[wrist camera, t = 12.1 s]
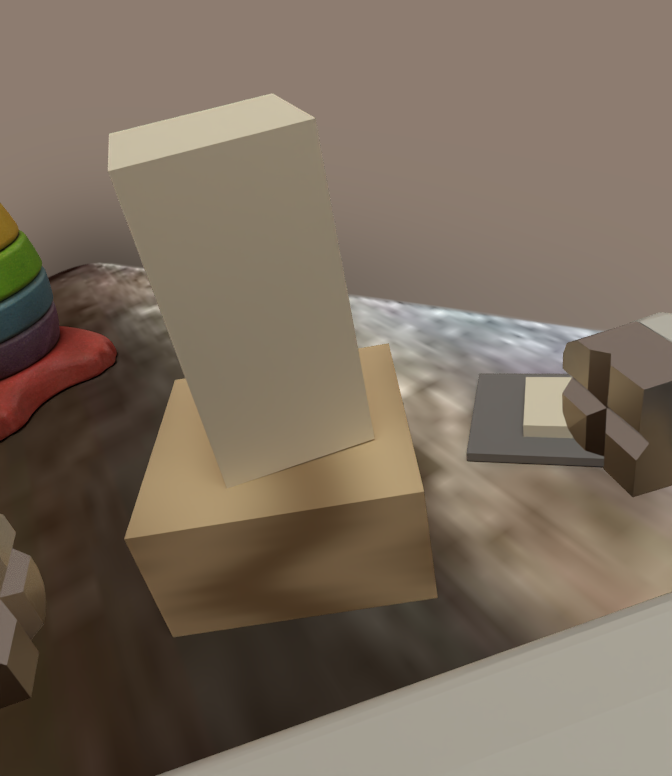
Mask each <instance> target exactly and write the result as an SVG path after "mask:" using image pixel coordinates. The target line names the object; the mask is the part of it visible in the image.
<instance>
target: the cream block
mask: <svg viewBox="0 0 672 776" xmlns="http://www.w3.org/2000/svg"><path fill="white" fill-rule="evenodd" d="M108 173H109V175H110V178H111V181H112V184H113V186H114V189H115V192H116V194H117V197H118V200H119V202H120V205H121V208H122V210H123V213H124V216H125V218H126V221H127V224H128V226H129V229H130V232H131V234H132V237H133V240H134V242H135V245H136V248H137V250H138V253H139V256H140V258H141V261H142V264H143V266H144V269H145V272H146V274H147V277H148V280H149V282H150V285H151V288H152V290H153V293H154V296H155V298H156V301H157V304H158V306H159V309H160V312H161V314H162V317H163V320H164V322H165V325H166V328H167V330H168V333H169V336H170V338H171V341H172V344H173V346H174V349H175V352H176V354H177V357H178V360H179V362H180V365H181V368H182V370H183V373H184V376H185V378H186V381H187V384H188V386H189V389H190V392H191V394H192V397H193V400H194V402H195V405H196V408H197V410H198V413H199V416H200V418H201V421H202V424H203V426H204V429H205V431H206V434H207V437H208V439H209V442H210V445H211V447H212V450H213V453H214V455H215V458H216V461H217V463H218V466H219V469H220V471H221V474H222V477H223V479H224V482H225V485H226V487H227V488H230V487H233V486H236V485H239V484H242V483H245V482H248V481H251V480H254V479H257V478H260V477H263V476H266V475H269V474H272V473H275V472H278V471H281V470H284V469H287V468H290V467H293V466H296V465H298V464H301V463H304V462H307V461H310V460H313V459H316V458H319V457H322V456H325V455H328V454H331V453H334V452H337V451H340V450H343V449H346V448H349V447H352V446H355V445H358V444H361V443H364V442H367V441H370V440H372V439H375V438H374V432H373V427H372V422H371V416H370V411H369V405H368V400H367V395H366V389H365V384H364V378H363V373H362V367H361V362H360V357H359V351H358V346H357V340H356V335H355V330H354V324H353V319H352V313H351V308H350V303H349V297H348V292H347V287H346V281H345V276H344V270H343V265H342V259H341V255H340V249H339V243H338V238H337V233H336V227H335V222H334V216H333V211H332V206H331V200H330V195H329V189H328V184H327V178H326V173H325V168H324V162H323V157H322V151H321V146H320V140H319V135H318V130H317V125H316V119H315V118H314V117H312V116H311V115H309V114H307V113H305V112H304V111H302V110H300V109H299V108H297V107H295V106H293V105H292V104H290V103H288V102H286V101H285V100H283V99H281V98H280V97H278V96H276V95H274V94H273V93H272V94H268V95H264V96H260V97H256V98H252V99H248V100H244V101H240V102H236V103H232V104H228V105H224V106H220V107H216V108H211V109H207V110H204V111H200V112H195V113H192V114H188V115H183V116H179V117H175V118H171V119H167V120H163V121H159V122H155V123H151V124H147V125H143V126H139V127H135V128H131V129H126V130H122V131H118V132H115V133H110V134H109V152H108Z"/></svg>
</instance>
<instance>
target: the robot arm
mask: <svg viewBox="0 0 672 776" xmlns="http://www.w3.org/2000/svg"><path fill="white" fill-rule="evenodd" d="M563 369H564V370H565V371H566V372H567V373H568V374H569V375H570V376H571V377H572V378H571V380H570V382H569V383H568V385H567V386H566V388H565V390H564V391H563V393H562V412H563V415H564V418H565V421H566V424H567V427H568V430H569V431H570V433H571V434H572V436H573V438H574V439H575V441H576V442H577V443H578V444H579V445H580V446H581V447H582V448H583V449H584V450H585V451H588V452H591V453H594V454H597V455H600V456H604V470H605V471H606V472H607V473H608V474H609V475H610V476H611V477H612V478H613V479H615V480H616V481H617V482H618V483H619V484H620V485H621V486H622V487H623V488H624V489H625V490H626V491H627V492H628V493H629V494H630V495H631V496H632V497H635V496H639V495H642V494H645V493H649V492H652V491H655V490H659V489H662V488H665V487H669V486H672V314H671V313H661V312H660V313H657V314H654V315H651V316H648V317H645V318H642V319H639V320H636V321H633V322H630V323H629V324H626V325H623V326H620V327H617V328H614V329H610V330H607V331H604V332H600V333H597V334H594V335H591V336H588V337H584V338H581V339H578V340H575V341H572V342H568V343H567V345H566V347H565V350H564V353H563ZM15 534H16V532H15V531H14V529H13V528H12V526H11V525H10V524H9V522H8V521H7V519H6V518H5V516H4V515H2V514H0V709H1V708H4V707H7V706H10V705H12V704H15V703H18V702H21V701H23V700H26V699H29V698H31V695H32V689H33V684H34V678H35V672H36V667H37V661H38V655H39V651H38V650H37V649H36V647H35V646H34V644H33V643H32V641H31V639H32V638H33V637H34V635H35V634H36V633H37V632H38V631H39V629H40V628H41V627H42V626H43V624H44V619H45V612H46V597H45V588H44V583H43V580H42V578H41V575H40V572H39V570H38V568H37V566H36V564H35V563H34V561H33V559H32V558H31V556H29V555H27V554H24V553H22V552H20V551H17V550H15V549H13V548H12V546H13V542H14V538H15ZM156 776H672V592H670V593H667V594H664V595H661V596H659V597H656V598H653V599H650V600H647V601H645V602H642V603H639V604H636V605H633V606H631V607H628V608H625V609H622V610H619V611H617V612H614V613H611V614H608V615H605V616H603V617H600V618H597V619H594V620H591V621H588V622H586V623H583V624H580V625H577V626H574V627H572V628H569V629H566V630H563V631H560V632H558V633H555V634H552V635H549V636H546V637H544V638H541V639H538V640H535V641H532V642H530V643H527V644H524V645H521V646H518V647H516V648H513V649H510V650H507V651H504V652H502V653H499V654H496V655H493V656H490V657H487V658H485V659H482V660H479V661H476V662H473V663H471V664H468V665H465V666H462V667H459V668H457V669H454V670H451V671H448V672H445V673H443V674H440V675H437V676H434V677H431V678H429V679H426V680H423V681H420V682H417V683H415V684H412V685H409V686H406V687H403V688H401V689H398V690H395V691H392V692H389V693H386V694H384V695H381V696H378V697H375V698H372V699H370V700H367V701H364V702H361V703H358V704H356V705H353V706H350V707H347V708H344V709H342V710H339V711H336V712H333V713H330V714H328V715H325V716H322V717H319V718H316V719H314V720H311V721H308V722H305V723H302V724H299V725H297V726H294V727H291V728H288V729H285V730H283V731H280V732H277V733H274V734H271V735H269V736H266V737H263V738H260V739H257V740H255V741H252V742H249V743H246V744H243V745H241V746H238V747H235V748H232V749H229V750H227V751H224V752H221V753H218V754H215V755H213V756H210V757H207V758H204V759H201V760H198V761H196V762H193V763H190V764H187V765H184V766H182V767H179V768H176V769H173V770H170V771H168V772H165V773H162V774H159V775H156Z"/></svg>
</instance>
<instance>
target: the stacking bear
mask: <svg viewBox="0 0 672 776" xmlns="http://www.w3.org/2000/svg"><path fill="white" fill-rule="evenodd" d="M116 354H117V352H116V349H115V347H114V345H113V343H112V342H111V341H110V340H109V339H108V338H106V337H105V336H103V335H101V334H98V333H95V332H92V331H88V330H83V329H78V328H72V327H63V326H59V320H58V315H57V311H56V307H55V304H54V302H53V294H52V290H51V287H50V283H49V280H48V277H47V274H46V271H45V269H44V268H43V267H42V261H41V259H40V257H39V255H38V253H37V252H36V250H35V248H34V247H33V245H32V244H31V242H30V241H29V239H28V238H27V236H26V235H25V234H24V233H23V232H22V231H20V230H19V229H18V226H17V224H16V223H15V221H14V220H13V218H12V217H11V216H10V214H9V213H8V212H7V211H6V209H5V208H4V207H3V206H2V204H1V203H0V441H1V440H2V439H4V438H6V437H7V436H9V435H11V434H13V433H14V432H16V431H17V430H19V429H20V428H21V427H22V426H23V425H24V424H25V423H26V422H27V421H28V419H29V418H30V416H31V415H32V414H33V412H34V411H35V410H36V409H37V408H38V407H39V406H40V405H41V404H43V403H44V402H45V401H46V400H48V399H49V398H51V397H52V396H54V395H55V394H57V393H59V392H60V391H62V390H64V389H66V388H68V387H70V386H73V385H75V384H78V383H80V382H83V381H86V380H88V379H91V378H93V377H95V376H98V375H99V374H101V373H102V372H103V371H104V370H105V369H107V368H108V367H110V366H112V365H113V364H114V363H115V357H116Z"/></svg>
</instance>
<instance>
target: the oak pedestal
mask: <svg viewBox="0 0 672 776" xmlns="http://www.w3.org/2000/svg"><path fill="white" fill-rule="evenodd" d="M358 351H359V357H360V362H361V367H362V373H363V378H364V384H365V389H366V395H367V400H368V405H369V411H370V416H371V422H372V427H373V432H374V438H375V439H372V440H370V441H367V442H364V443H361V444H358V445H355V446H352V447H349V448H346V449H343V450H340V451H337V452H334V453H331V454H328V455H325V456H322V457H319V458H316V459H313V460H310V461H307V462H304V463H301V464H298V465H296V466H293V467H290V468H287V469H284V470H281V471H278V472H275V473H272V474H269V475H266V476H263V477H260V478H257V479H254V480H251V481H248V482H245V483H242V484H239V485H236V486H233V487H230V488H227V487H226V485H225V482H224V479H223V477H222V474H221V471H220V469H219V466H218V463H217V461H216V458H215V455H214V453H213V450H212V447H211V445H210V442H209V439H208V437H207V434H206V431H205V429H204V426H203V424H202V421H201V418H200V416H199V413H198V410H197V408H196V405H195V402H194V400H193V397H192V394H191V392H190V389H189V386H188V384H187V381H186V378H185V379H179V380H175V383H174V386H173V389H172V392H171V395H170V398H169V401H168V404H167V408H166V411H165V414H164V417H163V420H162V423H161V426H160V429H159V432H158V436H157V439H156V442H155V445H154V448H153V451H152V454H151V457H150V460H149V464H148V467H147V470H146V473H145V476H144V479H143V482H142V485H141V489H140V492H139V495H138V498H137V501H136V504H135V507H134V510H133V513H132V517H131V520H130V523H129V526H128V529H127V532H126V535H125V538H124V540H125V542H126V544H127V546H128V548H129V550H130V552H131V554H132V556H133V558H134V560H135V562H136V564H137V566H138V568H139V570H140V572H141V574H142V576H143V578H144V580H145V582H146V584H147V586H148V588H149V590H150V592H151V594H152V596H153V598H154V600H155V602H156V604H157V606H158V608H159V610H160V612H161V614H162V616H163V618H164V620H165V622H166V624H167V626H168V628H169V630H170V632H171V634H172V636H173V637H178V636H185V635H191V634H198V633H205V632H212V631H218V630H225V629H232V628H238V627H245V626H252V625H258V624H265V623H272V622H279V621H285V620H292V619H299V618H305V617H312V616H319V615H326V614H332V613H339V612H346V611H352V610H359V609H366V608H372V607H379V606H386V605H393V604H399V603H406V602H413V601H419V600H426V599H433V598H438V596H437V589H436V581H435V573H434V565H433V557H432V550H431V542H430V534H429V526H428V519H427V511H426V503H425V495H424V489H423V485H422V481H421V477H420V473H419V468H418V464H417V460H416V456H415V452H414V448H413V443H412V439H411V435H410V431H409V427H408V423H407V418H406V414H405V410H404V406H403V402H402V398H401V393H400V389H399V385H398V381H397V377H396V373H395V368H394V364H393V360H392V356H391V352H390V348H389V343H388V344H382V345H377V346H371V347H365V348H359V349H358Z"/></svg>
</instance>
